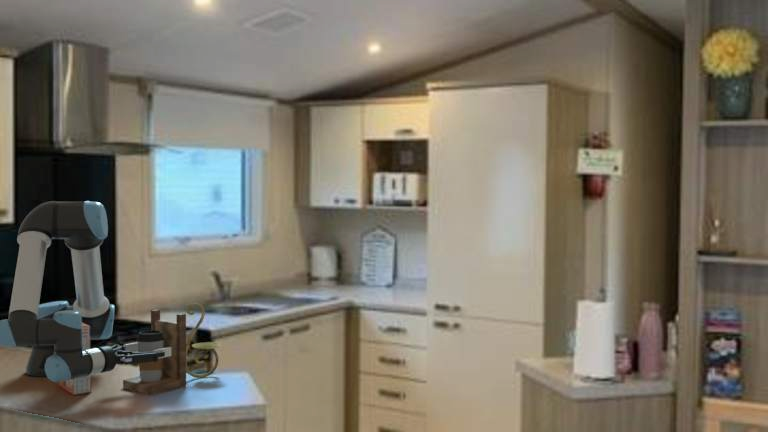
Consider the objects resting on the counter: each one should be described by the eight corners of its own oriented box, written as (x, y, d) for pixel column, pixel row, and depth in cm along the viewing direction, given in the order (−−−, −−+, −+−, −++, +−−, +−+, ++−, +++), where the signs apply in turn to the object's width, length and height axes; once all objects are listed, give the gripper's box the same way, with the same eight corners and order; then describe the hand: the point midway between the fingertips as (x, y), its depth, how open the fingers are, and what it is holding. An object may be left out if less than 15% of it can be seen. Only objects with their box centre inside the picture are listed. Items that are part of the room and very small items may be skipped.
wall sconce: (186, 383, 267) (186, 306, 266) (174, 377, 275) (174, 302, 274) (226, 377, 276) (226, 302, 274) (213, 372, 283) (213, 298, 282)
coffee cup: (140, 377, 265) (139, 330, 264) (166, 376, 266) (166, 329, 265) (134, 383, 257) (134, 334, 256) (162, 383, 257) (161, 334, 257)
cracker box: (57, 386, 262) (56, 320, 261) (77, 383, 266) (76, 318, 265) (71, 396, 251) (70, 326, 250) (91, 393, 255) (91, 324, 254)
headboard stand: (123, 387, 261) (122, 314, 260) (157, 379, 272) (156, 309, 271) (152, 395, 253) (151, 319, 252) (186, 386, 264) (185, 313, 263)
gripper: (72, 367, 253) (130, 355, 270) (125, 379, 238) (183, 365, 255) (72, 342, 252) (130, 332, 269) (125, 353, 238) (182, 341, 255)
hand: (156, 348), depth 262 cm, fingers open, 13 cm apart
